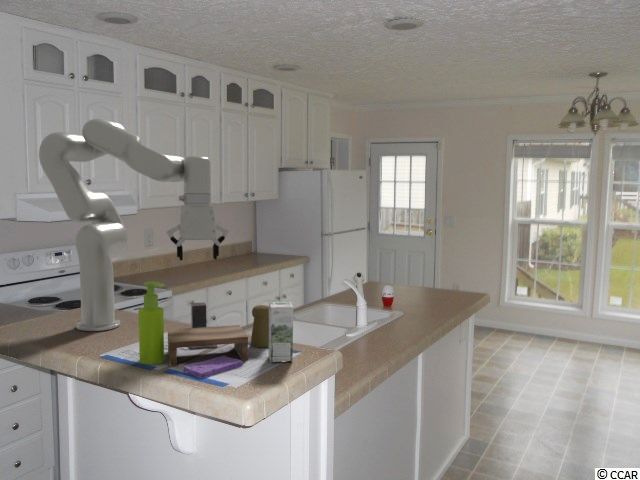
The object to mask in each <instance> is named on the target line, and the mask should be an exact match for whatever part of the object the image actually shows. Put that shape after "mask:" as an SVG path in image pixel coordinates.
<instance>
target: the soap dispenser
mask: <svg viewBox="0 0 640 480" xmlns="http://www.w3.org/2000/svg"><path fill="white" fill-rule="evenodd" d="M143 286H146V293H145V294H143V307H141V308H139V309H138V336H139V337H138V341H139V342H138V343H139V344H138V345H139V346H138V347H139V363H141V364H142V365H143V364H144V365H155V364H160V363H162V362H164V361H165V343H164V342H165V340H164V339H165V337H164V335H165V331H164V329H165V328H164V308H163V307H160V306H159V295H158V294H156V293H155V287H156V288H162V287H165V286H166V285H165V283H163V282H160V281H145V282H143Z"/></svg>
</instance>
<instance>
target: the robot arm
mask: <svg viewBox="0 0 640 480" xmlns="http://www.w3.org/2000/svg"><path fill="white" fill-rule="evenodd" d="M105 155H106V156H107V155H110V156H112V157H114V158H116V159H118V160H120V161H122V162H123V163H125V164H126V165H127V166H128V167H129V168H131V169H132V170H133V171H135V172H137V173H139V174H141V175H144V176H145V177H148V178H150V179H151V180H154V181H157V182H161V183H163V182H164V183H165V182H166V183H170V182H171V183H180V182H183V194H182V195H178V201H181V202H183V204H181V205H180V206H181V207H180V215H179V216H180V217H179V223H178V224H177V225H175V226H174V227H171V228H169V229H168V230H166V234H167V235H168V237H169V240H170V241H171V242H172V243H173V244H174V245H175V246H176V258H179V261H183V260H184V259H183V258H184V257H183V256H184V255H183V243H184V242H185V241H205V240H206V241H207V240H211V241H212V242H213V245H212V258H213V259H214V260H217V258H218V257H219V256H220V255H219V254H220V250H219V249H220V245H221V243H223V242H224V241H225V240H226V237H227V235H228V233H229V230H228V229H226V228H225V227H222V226H220V225H219V224H217V221H216V219H217V218H216V210H215V205H214V204H212V197H211V196H212V190H211V189H212V186H211V185H212V181H211V179H212V176H211V175H212V172H211V171H212V166H211V164H212V163H211V160H210V157H207V156H198V155H195V156H192V155H191V156H179V155H171V154H163V153H160V152H158V151H155V150H154V149H152V148H150V147H147V146H145V145H144V144H142V140H141V138H140V137H139V136H138V135H137V134H134V133H132V132H129V131H127V130H126V129H125V127H124V126H123V125H122V124H121V123H119V122H117V121H114V120H113V121H112V120H107V119H103V118H102V119H101V118H92V119H90V120H88V121H86V122H85V124H83V126H82V130H81V134H80V133H74V132H73V133H72V132H66V131H65V132H64V131H55V132H52V133H49V134H48V135H46V136H45V137H44V138H43V140H42V141H41V143H40V146H39V150H38V158H39V164H40V166H41V168H42V171H43V172H44V174H45V177H47V178H48V180H49V182H50V184H51V186H52V188H53V190H54V192H55V195H56V196H57V198H58V200H59V203H60V205H61V206H62V208H63V210H64V212H65V215H66V216H67V217H68V219H69V220H70V221H72V222H74V223H80V224H81V223H88V224H86V225H83V226H82V227H81V228H80V229H78V231H77V233H76V234H75V240H74V241H75V248H76V252H77V255H78V256H77V257H78V265H79V282H80V283H79V284H80V285H79V286H80V309H81V310H80V312H81V314H80V317H81V320H80V321H79V322H77V323H76V324H75V328H76V329H77V330H79V331H82V332H101V331H107V330H108V331H109V330H112V329H116V328H119V326H120V325H121V320H120V319H118V318H115V317H116V316H115V315H116V313H115V312H116V311H115V307H116V306H115V284H114V283H115V280H114V279H115V277H114V275H115V274H114V273H115V272H114V266H113V262H112V257H111V255H110V253H115V252H117V251H121V250H122V249H123V248H125V247H126V244H127V243H128V238H129V237H128V236H129V235H128V230H127V228H126V226H125V224H124V222H123V220H122V218H121V216H120V214H119V211H118V210H117V208H116V206H115V204H114V202H113V201H112V198H110V197H109V195H107V194H106V193H104V192H103V191H100V190H99V191H98V190H89V189H88V187H87V186H86V184H85V182H84V179H83V178H82V176H81V174H80V173H79V172H78V170H77V169H76V168H74V166H73V165H72V163H71V162H77V163H83V162H84V163H86V162H87V163H88V162H90V161H93V160H94V161H95V160H96V159H99V158H101V157H104V156H105ZM178 231H179V236H180V237H179V238H178V239H177V238H176V237H175V236H174V233H175V232H178ZM217 231H219V232H220V233H221V235H220V236H219V237H218V238H216V237H217Z"/></svg>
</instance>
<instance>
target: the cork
mask: <svg viewBox="0 0 640 480" xmlns="http://www.w3.org/2000/svg"><path fill="white" fill-rule="evenodd" d="M251 314H252V317H253V322H252V330H251V331H252V332H251V338H250V347H252V348H254V347H267V348H269V305H262V304H258V305H255V306H253V308H251Z"/></svg>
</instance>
